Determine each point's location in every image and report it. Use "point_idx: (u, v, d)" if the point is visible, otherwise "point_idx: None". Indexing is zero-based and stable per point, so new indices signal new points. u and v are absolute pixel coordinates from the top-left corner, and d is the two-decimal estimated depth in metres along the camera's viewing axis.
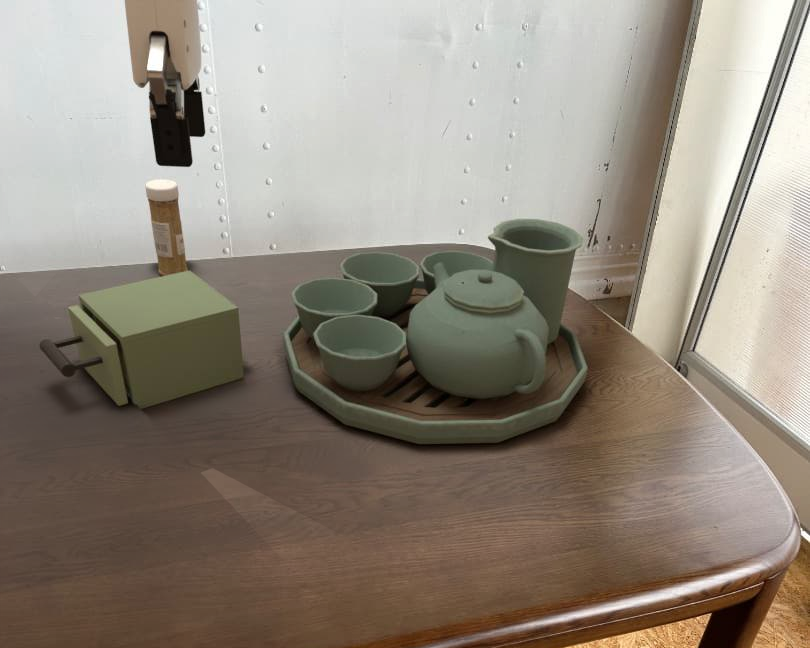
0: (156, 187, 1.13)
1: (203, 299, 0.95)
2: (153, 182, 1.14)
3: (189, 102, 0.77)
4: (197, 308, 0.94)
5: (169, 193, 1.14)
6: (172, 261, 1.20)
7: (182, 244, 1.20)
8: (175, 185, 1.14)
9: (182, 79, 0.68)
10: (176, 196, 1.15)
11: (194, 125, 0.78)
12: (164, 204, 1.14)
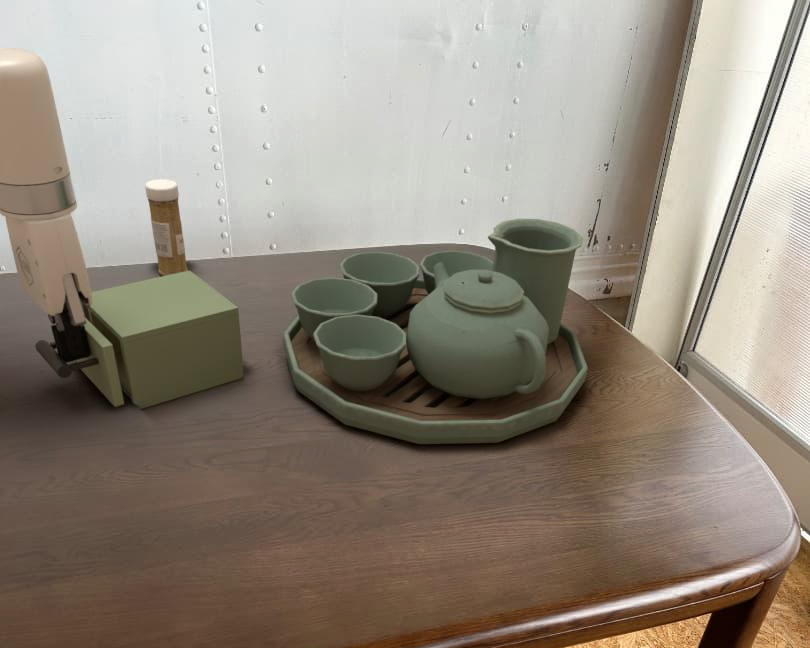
0: (156, 187, 1.13)
1: (203, 299, 0.95)
2: (153, 182, 1.14)
3: None
4: (197, 308, 0.94)
5: (169, 193, 1.14)
6: (172, 261, 1.20)
7: (182, 244, 1.20)
8: (175, 185, 1.14)
9: (89, 301, 0.84)
10: (176, 196, 1.15)
11: None
12: (164, 204, 1.14)
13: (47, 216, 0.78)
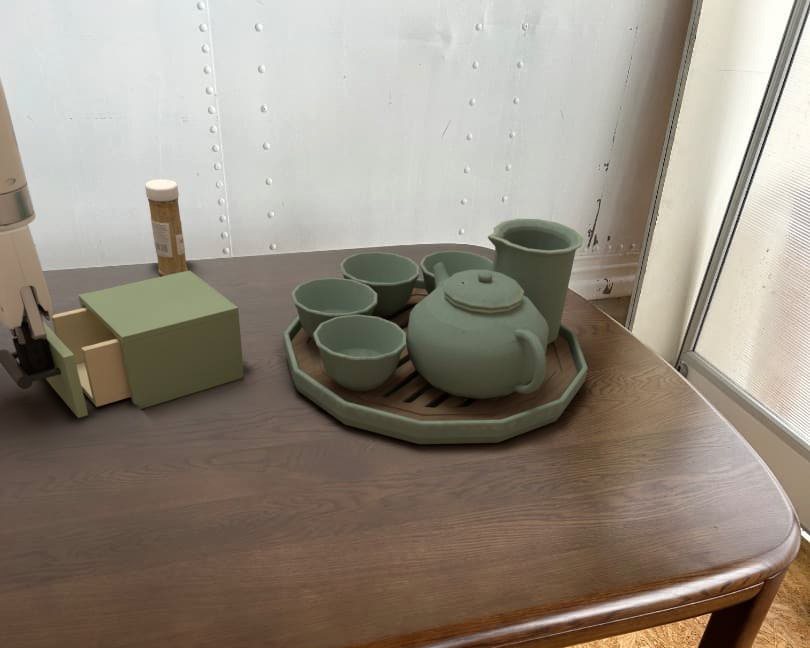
0: (156, 187, 1.13)
1: (203, 299, 0.95)
2: (153, 182, 1.14)
3: None
4: (197, 308, 0.94)
5: (169, 193, 1.14)
6: (172, 261, 1.20)
7: (182, 244, 1.20)
8: (175, 185, 1.14)
9: (50, 314, 0.82)
10: (176, 196, 1.15)
11: None
12: (164, 204, 1.14)
13: (3, 228, 0.76)
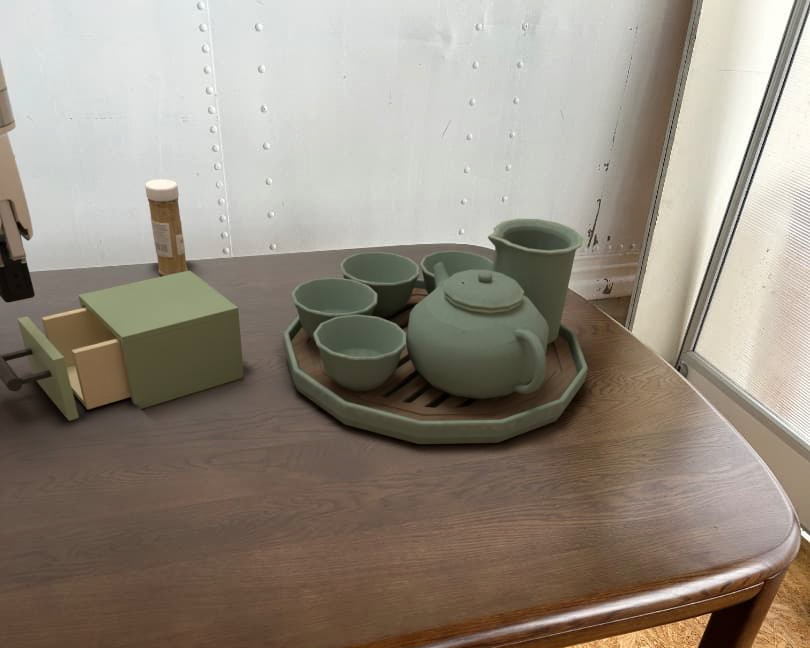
0: (156, 187, 1.13)
1: (203, 299, 0.95)
2: (153, 182, 1.14)
3: None
4: (197, 308, 0.94)
5: (169, 193, 1.14)
6: (172, 261, 1.20)
7: (182, 244, 1.20)
8: (175, 185, 1.14)
9: (29, 233, 0.77)
10: (176, 196, 1.15)
11: None
12: (164, 204, 1.14)
13: None
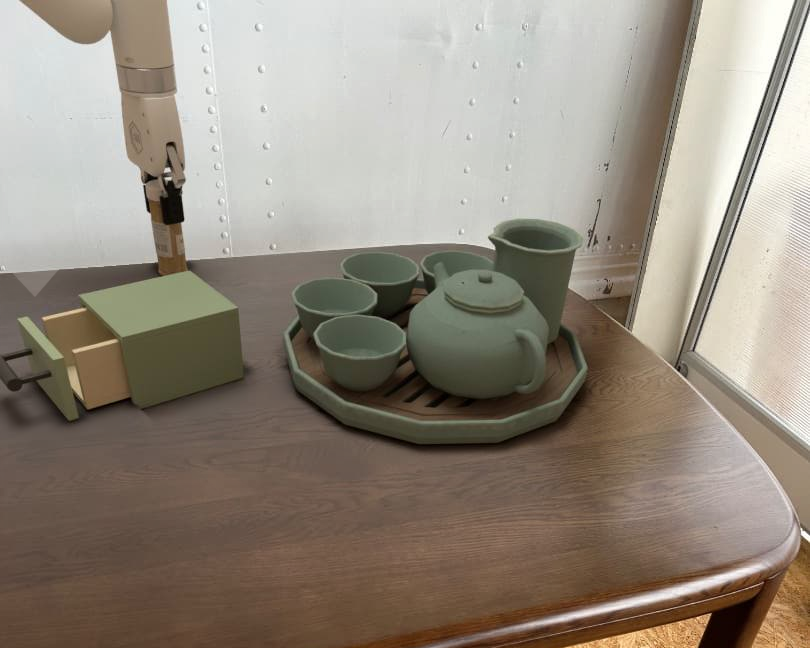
0: (156, 187, 1.13)
1: (203, 299, 0.95)
2: (153, 182, 1.14)
3: None
4: (197, 308, 0.94)
5: None
6: (173, 261, 1.20)
7: (182, 244, 1.20)
8: None
9: (183, 167, 1.10)
10: None
11: None
12: None
13: (158, 95, 1.04)
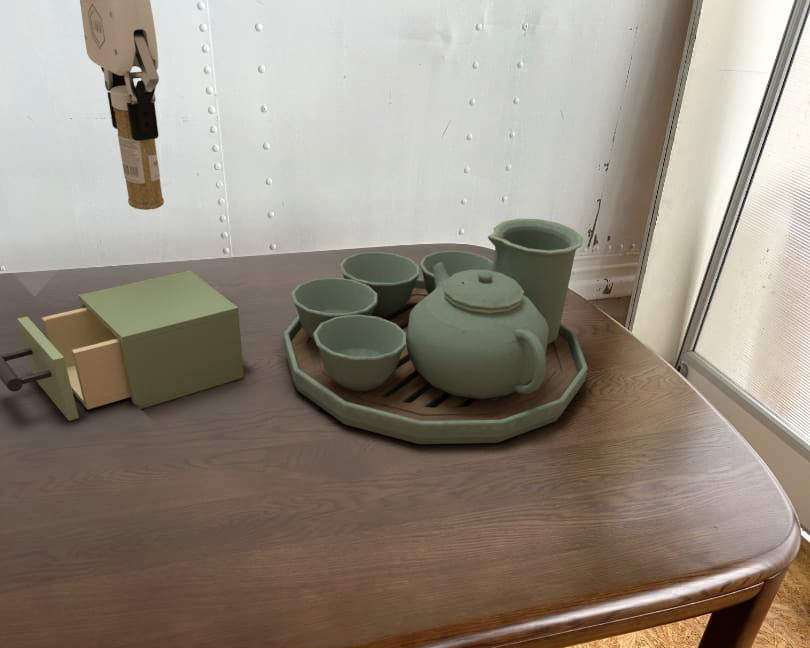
0: (123, 92, 0.92)
1: (203, 299, 0.95)
2: (120, 87, 0.94)
3: None
4: (197, 308, 0.94)
5: None
6: (145, 188, 0.99)
7: (156, 167, 0.99)
8: None
9: (156, 64, 0.89)
10: None
11: None
12: None
13: None
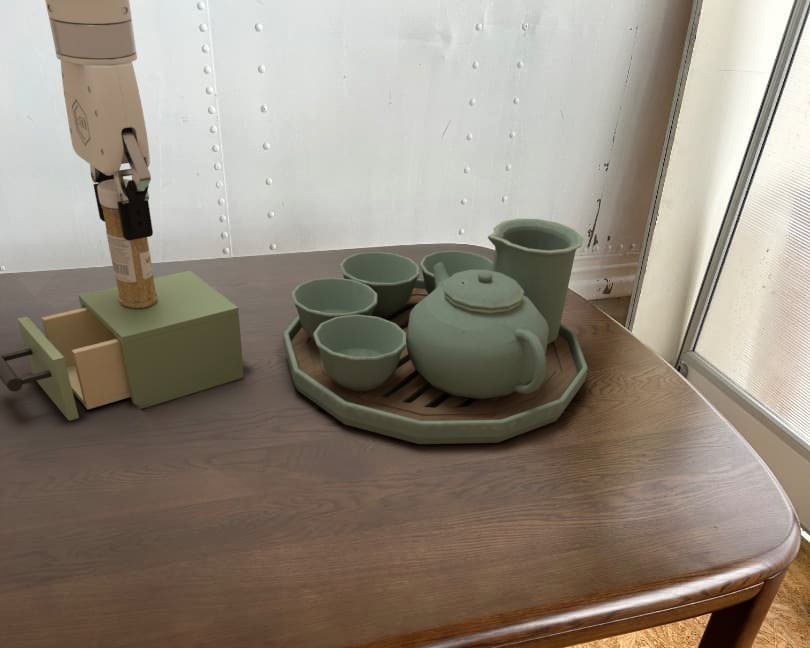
0: (111, 189, 0.84)
1: (203, 299, 0.95)
2: (108, 183, 0.85)
3: None
4: (197, 308, 0.94)
5: None
6: (136, 286, 0.91)
7: (149, 264, 0.91)
8: None
9: (147, 162, 0.81)
10: None
11: None
12: None
13: (108, 61, 0.75)
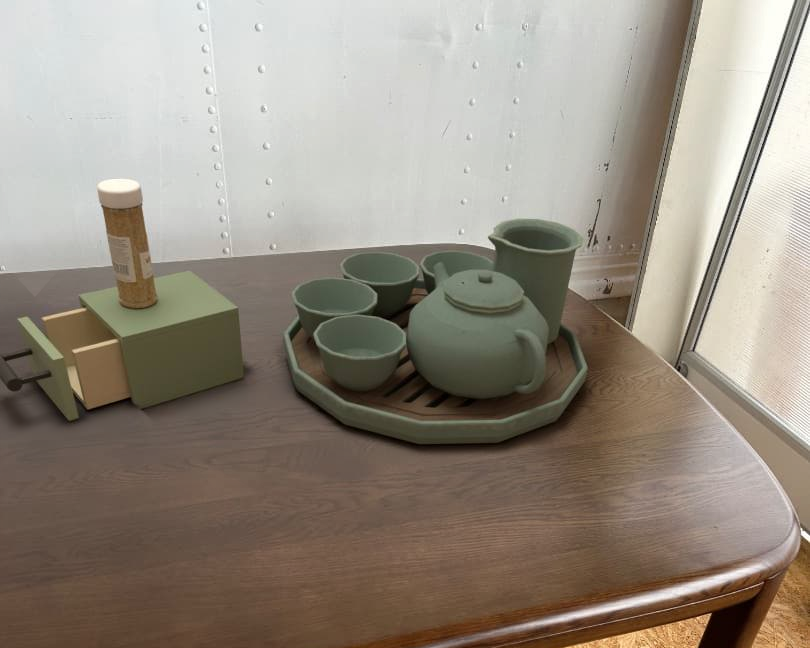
0: (111, 189, 0.84)
1: (203, 299, 0.95)
2: (108, 182, 0.85)
3: None
4: (197, 308, 0.94)
5: (129, 198, 0.84)
6: (136, 286, 0.91)
7: (149, 264, 0.91)
8: (137, 186, 0.85)
9: None
10: (139, 201, 0.86)
11: None
12: (122, 212, 0.85)
13: None
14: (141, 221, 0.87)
